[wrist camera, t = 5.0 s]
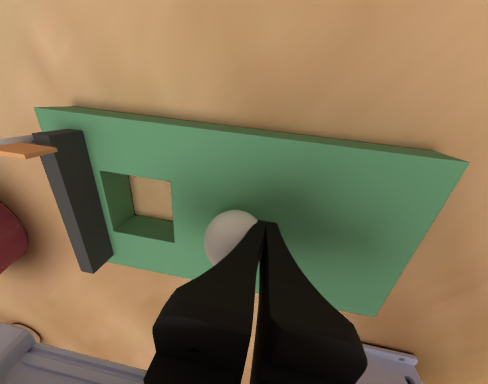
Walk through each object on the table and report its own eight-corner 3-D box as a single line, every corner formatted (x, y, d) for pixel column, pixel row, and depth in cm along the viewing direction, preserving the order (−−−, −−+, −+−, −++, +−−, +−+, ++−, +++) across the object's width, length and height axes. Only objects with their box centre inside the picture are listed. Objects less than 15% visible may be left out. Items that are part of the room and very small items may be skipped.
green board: (433, 150, 12) (586, 200, 6) (361, 288, 17) (405, 387, 11) (72, 106, 14) (-72, 110, 8) (106, 238, 19) (32, 298, 13)
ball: (280, 236, 10) (206, 230, 9) (264, 289, 11) (198, 288, 10) (264, 202, 13) (208, 196, 12) (253, 247, 14) (202, 243, 13)
